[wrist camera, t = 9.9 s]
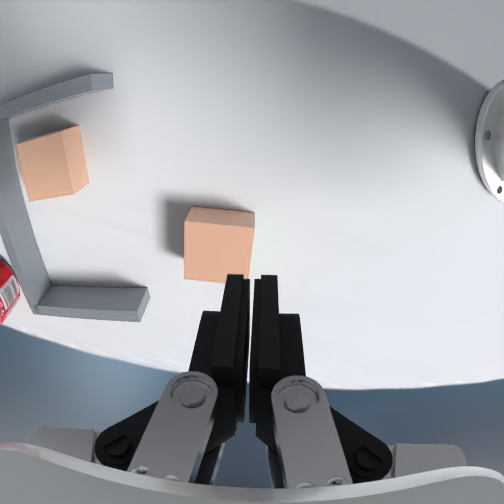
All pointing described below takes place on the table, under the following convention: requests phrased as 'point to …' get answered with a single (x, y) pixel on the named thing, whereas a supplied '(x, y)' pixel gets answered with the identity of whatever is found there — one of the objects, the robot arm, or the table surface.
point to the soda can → (7, 290)
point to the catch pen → (22, 237)
